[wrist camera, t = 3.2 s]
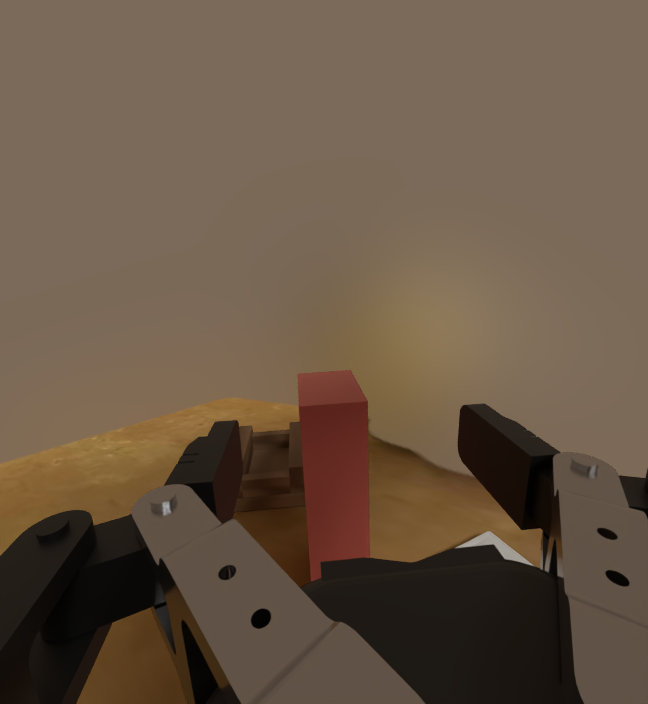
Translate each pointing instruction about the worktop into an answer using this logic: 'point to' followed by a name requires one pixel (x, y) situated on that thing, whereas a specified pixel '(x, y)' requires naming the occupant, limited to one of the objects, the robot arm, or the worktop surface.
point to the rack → (271, 469)
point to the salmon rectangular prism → (334, 466)
